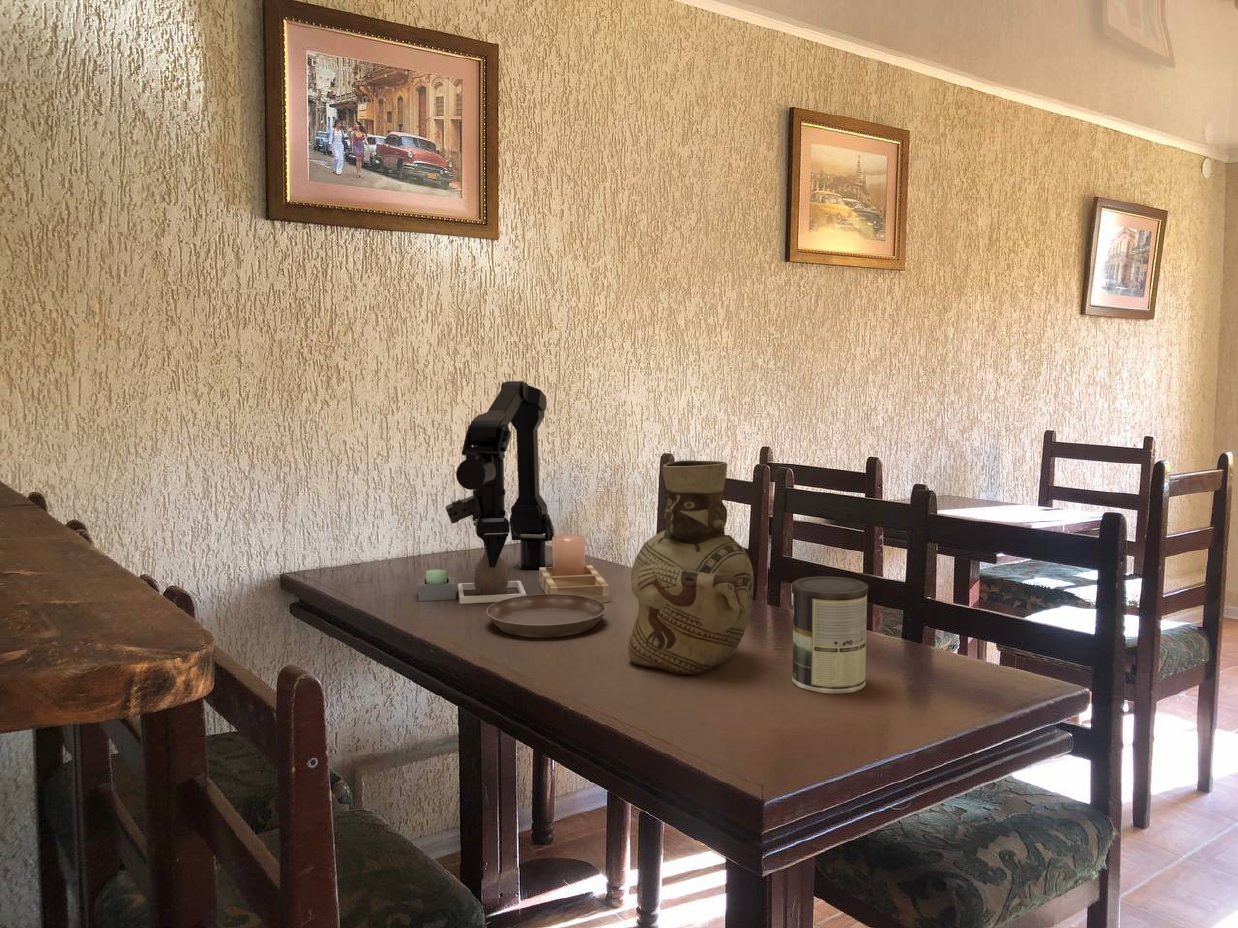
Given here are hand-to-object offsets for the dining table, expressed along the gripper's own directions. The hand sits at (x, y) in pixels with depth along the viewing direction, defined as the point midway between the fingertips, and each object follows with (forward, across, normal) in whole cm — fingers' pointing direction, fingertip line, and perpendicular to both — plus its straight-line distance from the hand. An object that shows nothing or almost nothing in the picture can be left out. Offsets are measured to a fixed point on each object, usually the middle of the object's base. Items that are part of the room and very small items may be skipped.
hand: (490, 562), depth 193 cm
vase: (+7, 0, 0) cm, 7 cm away
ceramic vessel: (+6, +50, +27) cm, 57 cm away
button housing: (+6, -1, -10) cm, 12 cm away
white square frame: (+6, 0, 0) cm, 6 cm away
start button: (+6, -1, -11) cm, 12 cm away
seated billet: (+5, -4, +16) cm, 17 cm away
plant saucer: (+7, +25, +8) cm, 27 cm away
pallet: (+6, +1, +16) cm, 17 cm away
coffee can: (+6, +65, +43) cm, 78 cm away
